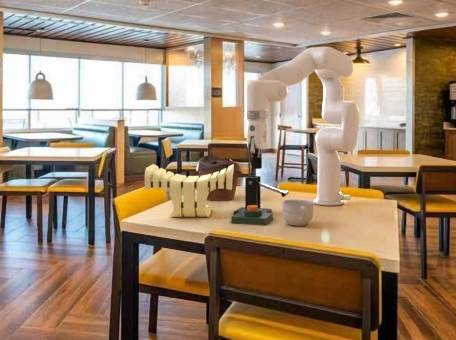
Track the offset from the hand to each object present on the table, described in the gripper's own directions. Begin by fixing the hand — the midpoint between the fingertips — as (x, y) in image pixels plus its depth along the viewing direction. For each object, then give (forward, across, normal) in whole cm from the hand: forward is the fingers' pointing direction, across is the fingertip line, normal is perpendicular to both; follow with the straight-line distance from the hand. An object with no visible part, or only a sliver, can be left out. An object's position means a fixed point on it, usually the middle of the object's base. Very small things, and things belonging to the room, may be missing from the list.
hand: (256, 168), depth 189 cm
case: (+19, +35, +27) cm, 48 cm away
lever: (+9, +9, -1) cm, 13 cm away
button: (+15, -4, +1) cm, 15 cm away
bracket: (+18, +9, +4) cm, 21 cm away
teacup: (+18, -6, -16) cm, 25 cm away
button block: (+18, -4, +1) cm, 19 cm away
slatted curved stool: (+18, +1, +26) cm, 31 cm away
